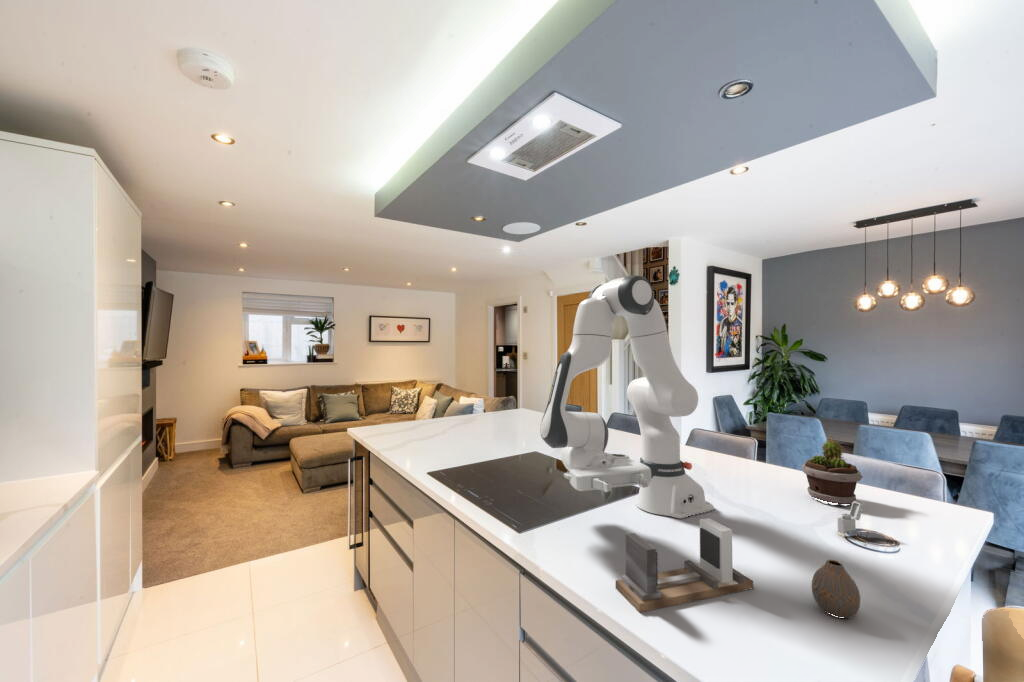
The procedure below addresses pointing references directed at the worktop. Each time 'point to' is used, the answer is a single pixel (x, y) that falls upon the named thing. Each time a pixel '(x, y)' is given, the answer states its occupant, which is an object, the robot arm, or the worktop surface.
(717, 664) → the worktop surface
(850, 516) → the lighter
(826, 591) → the vase
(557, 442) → the robot arm
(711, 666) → the worktop surface
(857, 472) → the flowerpot
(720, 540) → the white upright block
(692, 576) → the rail
